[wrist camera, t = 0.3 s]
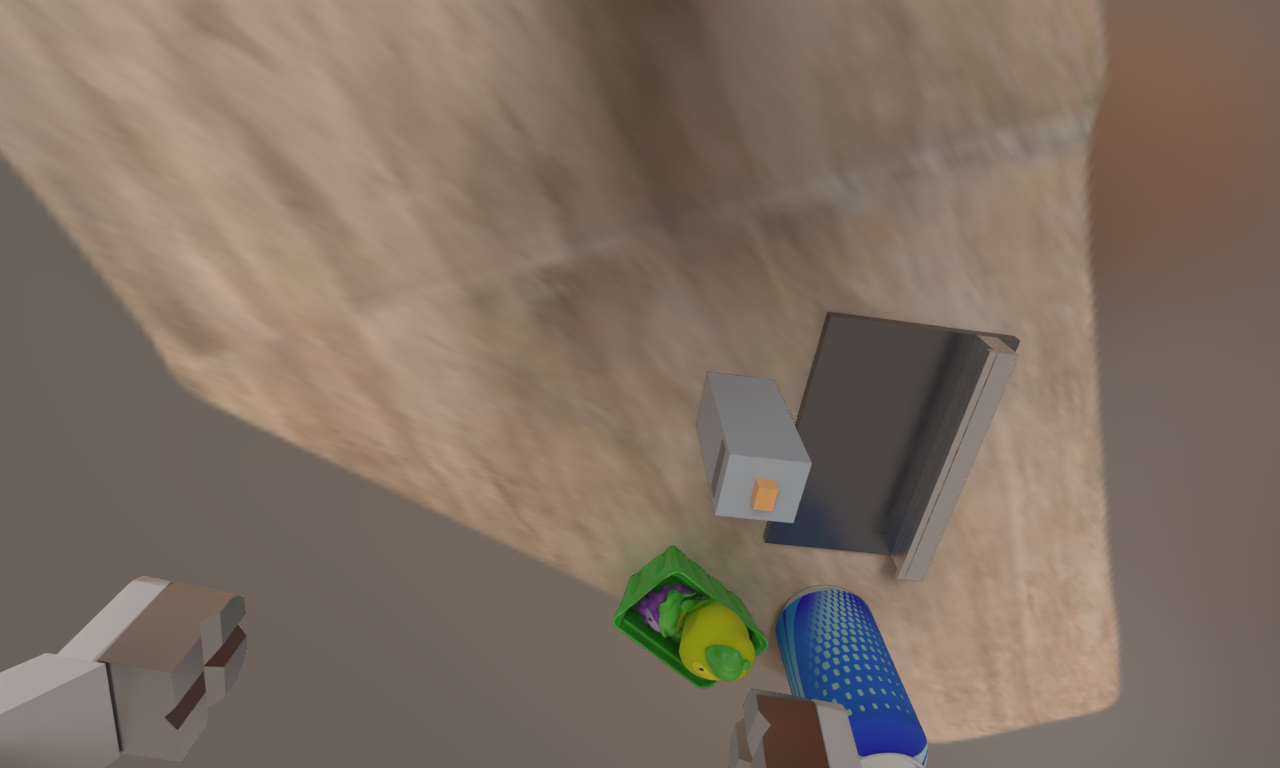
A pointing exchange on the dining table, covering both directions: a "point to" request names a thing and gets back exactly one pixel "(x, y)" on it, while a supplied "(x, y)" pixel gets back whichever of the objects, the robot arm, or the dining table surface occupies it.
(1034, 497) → the dining table surface
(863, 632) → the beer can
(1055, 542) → the dining table surface
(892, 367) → the rail plate
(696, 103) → the dining table surface
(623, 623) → the fruit basket
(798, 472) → the module
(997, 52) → the dining table surface
